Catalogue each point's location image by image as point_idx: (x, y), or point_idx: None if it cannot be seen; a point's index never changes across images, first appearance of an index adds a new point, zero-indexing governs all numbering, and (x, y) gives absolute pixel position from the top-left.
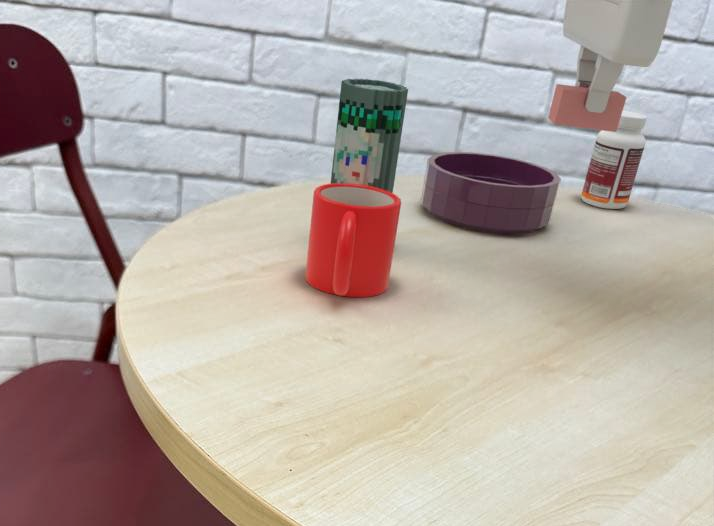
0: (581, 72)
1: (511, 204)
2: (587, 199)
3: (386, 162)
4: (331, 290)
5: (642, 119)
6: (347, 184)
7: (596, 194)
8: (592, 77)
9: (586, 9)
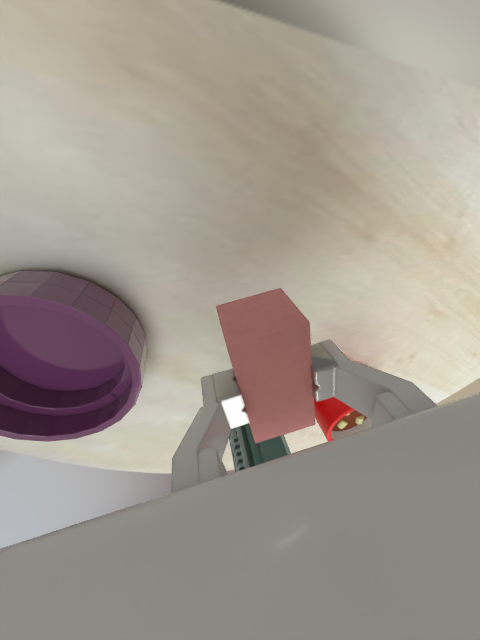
0: (222, 444)
1: (130, 331)
2: None
3: (279, 444)
4: None
5: None
6: (331, 438)
7: None
8: (218, 419)
9: None
